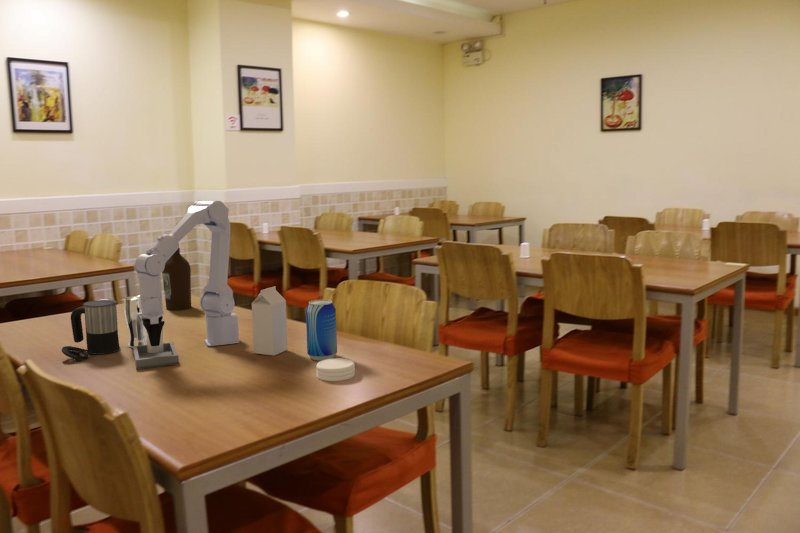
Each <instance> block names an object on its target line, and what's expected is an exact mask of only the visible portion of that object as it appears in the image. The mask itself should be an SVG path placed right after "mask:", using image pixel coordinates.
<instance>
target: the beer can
mask: <svg viewBox="0 0 800 533" xmlns="http://www.w3.org/2000/svg"><path fill="white" fill-rule="evenodd" d="M336 310H337V309H336V307H335V305H334V303H333V301H332V300H331V299H315V300H309V301H308V305H307V308H306V309H305V325H306V349H307V356H309V358H310V359H311V360H312V361H313V360H314V361H323V360H326V359H334V358H335V356H336V354H337V353H338V338H337V337H338V336H337V333H338V332H337V311H336Z"/></svg>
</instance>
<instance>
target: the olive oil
mask: <svg viewBox="0 0 800 533" xmlns="http://www.w3.org/2000/svg"><path fill="white" fill-rule="evenodd" d="M180 250H181V248H180V247H179V248H178V249H177V251H176V252H175V253H174V254H173V255H172V256H171V257H170V258H169V259H168V260H167V261H166V263H165V268H164V270H163V272H161V274H162V276H161V277H162V282H163V292H164V300H165V309H166V310H168V311H181V310H187V309H190V308H191V307H192V295H191V294H192V274H191V272H192V271H191V265H190V262H189V261H188V260H187V259H186V258H184V256H183V255H182V254H181V251H180Z"/></svg>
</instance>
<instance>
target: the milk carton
mask: <svg viewBox="0 0 800 533" xmlns="http://www.w3.org/2000/svg"><path fill="white" fill-rule="evenodd" d="M276 288H277V287H276V285H275V286H272V287H267V288H265V289H261V290H260V293H259V294H258V295H257V297H256V298H255V299H254V300H253V301H252V302H251V321H252V338H253V340H252V341H253V343H252V344H253V354H256V355H266V356H273V357H274V356H277V355H279V354H281V353H283V352H285V351H288V348H289V346H288V344H289V343H288V324H287V323H288V321H287V300H286V299H285V298H284V297H283V296H282V295H281V294H280V293H279V292H278V291H277V289H276Z"/></svg>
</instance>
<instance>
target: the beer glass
mask: <svg viewBox="0 0 800 533" xmlns="http://www.w3.org/2000/svg"><path fill="white" fill-rule="evenodd" d="M123 300H124V301H123V303H124V304H123V312H124V319H125V323H126V326H127V330H128V347H129V348H130V349H131V348H132V349H133V346H141V345H147V334H146V328H145V327H144V325H143V321H142V318H145V317H142V316H137V313H140V312H141V298H140V295H133V296H132V295H131V296H126V297H124V299H123Z"/></svg>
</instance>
